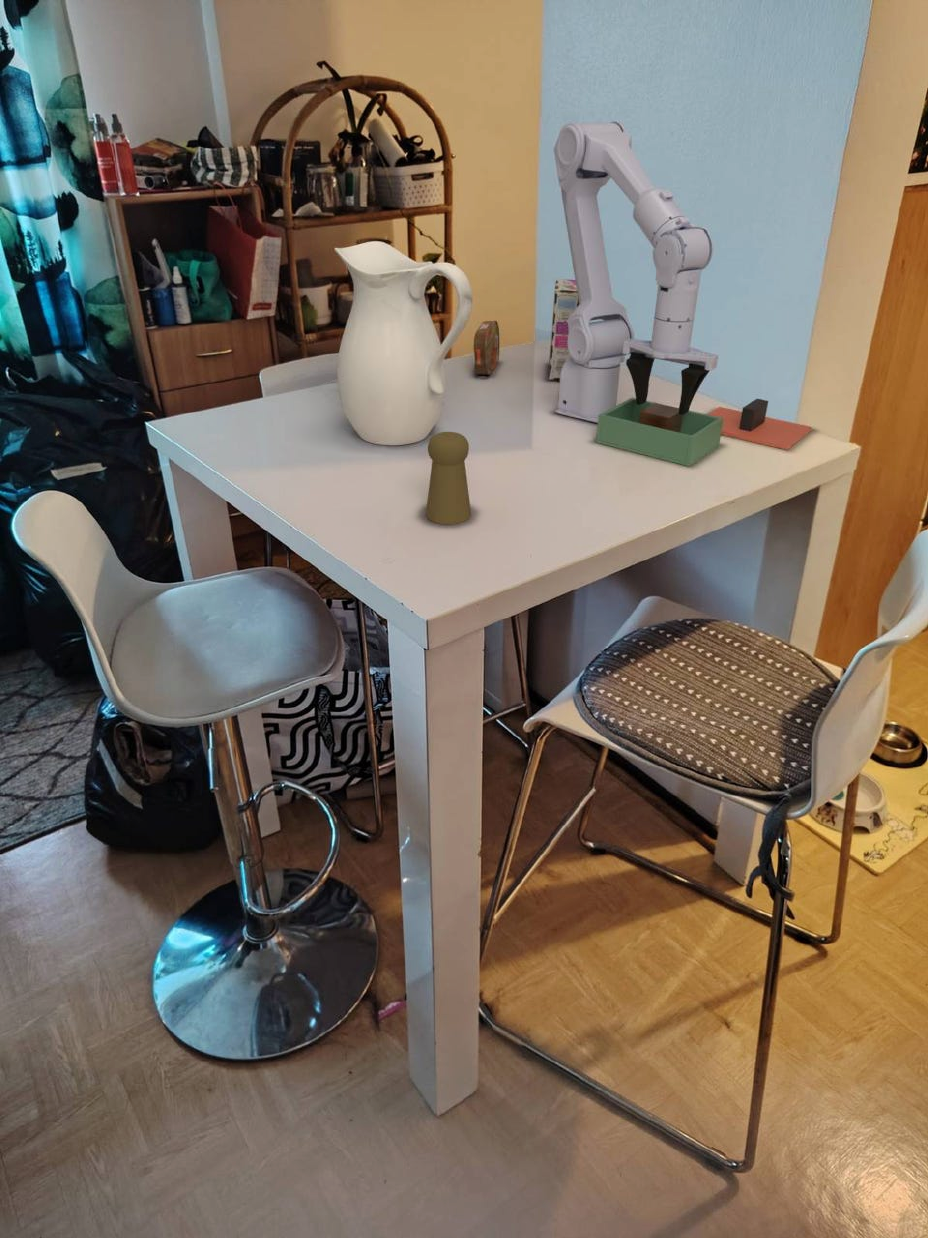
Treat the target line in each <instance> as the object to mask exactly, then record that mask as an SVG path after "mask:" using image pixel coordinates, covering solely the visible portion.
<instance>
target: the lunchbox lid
mask: <svg viewBox="0 0 928 1238" xmlns="http://www.w3.org/2000/svg"><path fill="white" fill-rule="evenodd" d="M768 406H769V400H765V399H761V398H756V399H754V400H753V401H751V402H750V403H748V404H746V405H745V406H743V407H742V410H741V411H740V410H736V409H731V408H726V407H721V406H718V407H716V408H715V409H713V410H712V411H710V412H709V413H706V414H707V415H712V416H716V417H721V418H724V421H723V427H722V432H721V436H725V437H731V438H735V439H738V440H743V441H746V442H747V441H749V442H751V443H752V442H753V443H756V444H761V445H765V446H769V447H773V448H777V449H781V450H786V451H788V450H790V448H791V447H793V446H794V445H795V444H797V442H799V441H800V440H801V439H802V438H804V437H805V436H806V435H808V434H809V433H810V432H811V431H812V429H813V426H808V425H804V424H800V423H797V422H796V423H794V422H790V421H786V420H782V419H778V418H772V417H768V416H767V412H768Z"/></svg>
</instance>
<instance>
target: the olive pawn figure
mask: <svg viewBox="0 0 928 1238" xmlns="http://www.w3.org/2000/svg"><path fill="white" fill-rule="evenodd" d="M469 451H470V445H469V441H468V439H467V438H466V437H465V435H463V434H461V433H459V432H454V431H441V432H438V433H435V434H433V435H432V436H431V437H430V439H429V441H428V445H427V453H428V456H429V458H430V460H431V462H432V463H431V470H430V477H429V485H428V492H427V493H428V495H427V500H426V509H425V517H426V519H427V520H429V521H430V522H432V523H435V524H439V525H458V524H462V523H465V522H466V521H468V520H469V519H471V517H472V510H471V509H472V508H471V503H470V501H471V500H470V494H469V486H468V479H467V478H468V477H467V471H466V463H465V461H466V459H467V458H468V456H469Z"/></svg>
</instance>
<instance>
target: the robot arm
mask: <svg viewBox="0 0 928 1238" xmlns="http://www.w3.org/2000/svg"><path fill="white" fill-rule="evenodd" d="M632 141H633V140H632V135H631V134H629V132H627V129H626V127H625V126H624V125H623V123H621V122H620V121H610V122H588V123H587V122H583V123H577V122H567V123H565V124H564V125H563V126H562V127H561V130H560V131H559V133H558V136H557V139H556V142H555V145H554V147H553V154H554V159H555V167H556V172H557V178H558V185H559V187H560V193H561V199H562V206H563V212H564V217H565V224H566V225H565V226H566V231H567V238H568V243H569V249H570V256H571V261H572V267H573V274H574V280H576V287H577V293H578V299H579V306H578V307H577V308H576V310H575V311H574V312H573V313H572V314H571V316H570V317H569V318H568V320H567V321H568V328H569V333H568V350H569V353H570V355H571V358H569V359H568V360H567V361H566V362H565V363H564V365H563V368H562V370H561V375H560V381H559V387H558V401H557V408H556V409H555V413H556V414H559V415H563V416H566V417H572V418H575V419H580V420H584V421H587V422H592V423H595V424H598V418H599V415H600V414H602V413H604V412H606V411H608V410H609V409H611V408H613V407H615V406H617V400H618V391H619V382H620V373H621V372H620V371H621V364H622V363H625V366H626V367H627V369H628V371H629V374H630V376H631V379H632V383H633V388H634V395H635V399H636V404H638V405H641V404H643V403H645V402H646V401H648V396H649V387H650V386H649V385H650V378H651V373H652V371H653V366H654V362H655V359H656V360H659V361H665V362H670V363H675V364H680V365H685V366H687V367H684V368H683V369H681V372H680V373H681V393H680V400H679V406H678V408H679V414H681V415H684V414H686V413H687V412H689V411H690V408H691V405H692V402H693V400H694V398H695V396H696V394H697V392H698V390H699V388H700V386H701V384H702V383H703V381H704V380H705V378H706V377H707V375H709V373H710V372H711V371H714V370H715V369H717V368H718V367H717V366H718V361H719V354H715V353H712V352H711V353H710V352H707V351H704V350H701V349H698V348H695V347H692V346H691V343H692V335H693V328H694V322H695V315H696V307H697V301H698V293H699V287H700V280H701V274H702V270H704V269H705V268H707V267H708V265H709V264H710V262H711V260H712V258H713V252H714V243H713V239H712V236H711V235H710V233H709V230H708V229H707V228H706V227H704V226H701V225H700V226H699V225H698V226H696V224H694V223H693V222H690V221H691V220H690V219H689V218H688V217H687V216H686V215H685V214H684V213H683V211H682V210H681V209H680V207H679V206H678V205H677V203H676V201H675V200H674V195H673V194H672V192H671V190H667V189H664V188H660V187H659V188H655V187H654V185H653V184H652V182H651V180H650V178H649V177H648V175H647V174H646V172H645V170H644V169H643V167H642V165H641V163H640V161H639V159H637V157H636V155H635V154H634V152H633V150H632V145H633V144H632ZM610 179H612V181H613V182H614V183H615V184H616V185H617V187H618V188H619V189H620V190H621V192H623V194H624V195H625V197H627V199H628V200H629V201H630V202H631V203H632V205H633V206H634V207H633V210H632V218H633V220H634V221H635V223H636V224H637V226H638V227H639V229H640V230H641V231H642V233H643V234H644V236H645V237H646V238H647V239H646V240H648V242H649V243H650V245H651V246H652V247H653V249H652V260H653V264H654V266H655V267H654V268H655V272H656V273H655V281H656V285H657V293H656V302H655V309H654V317H653V324H652V333H651V334H652V335H651V340H645V339H635V334H634V330H633V327H632V325H631V323H630V321H629V318H628V313H627V308H626V307H625V306H624V305H622V304H621V303H620V302H618V301H617V300H616V299H615V298H614V297H613V292H612V285H611V279H610V274H609V267H608V261H607V253H606V247H605V241H604V234H603V228H602V227H603V226H602V221H601V215H600V209H599V201H598V194H599V192H600V190H601V188H602V187H604V186H606V185H607V184H608V183H609V181H610ZM590 321H591V322H590ZM627 355H629V357H628V358H627V359H626V360H625V358H626V356H627Z"/></svg>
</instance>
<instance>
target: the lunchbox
mask: <svg viewBox="0 0 928 1238" xmlns="http://www.w3.org/2000/svg"><path fill="white" fill-rule="evenodd" d="M654 403H655V402H654V401H649V400H646V402H645V403H643V404H641V405H638V404H636V397H631V398H628V399H627V400H625V401H623V402H621V403H619V404H616V406H615V407H613V408H611V409H609V410H608V411H606V412H604V413H602V414H600V415H599V418H598V423H597V428H596V429H597V431H596V439H595V442H596V443H597V444H600V445H605V446H609V447H611V448H612V447H613V448H617V449H621V450H624V451H627V452H631V453H632V452H633V453H635V454H638V455H639V454H640V455H644V456H648V457H651V458H656V459H659V460H663V461H667V462H670V463H675V464H677V465H678V464H679V465H682V466H687V467H691V466H692V465H694V464H695V463H697V462H698V461H700V460H701V459H702V458H704V457H705V456H706V455H708V454H710V453H711V452H712V451H714V450H715V449H716V448H718V447H719V446H720V444H721V437H722V435H721V432H722V427H723V421H724V418H721V417H716V416H712V415H707V414H708V413H703V412H698V411H693V410H689V412H687V413H686V414H684V415H683V417H682V424H681V431H680V433H678V432H674V431H670V430H666V429H662V428H658V427H653V426H649V425H645V424H641V423H639V416H640V411H641V410H643V409H645V408H647V407H649V406H650V405H652V404H654ZM656 403H657V404H659V403H658V402H656ZM660 404H661V405H664V404H663V403H660ZM665 405H666V406H668V405H667V404H665ZM669 406H670V407H673V406H671V405H669ZM674 407H675V408H677V407H676V406H674Z"/></svg>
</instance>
